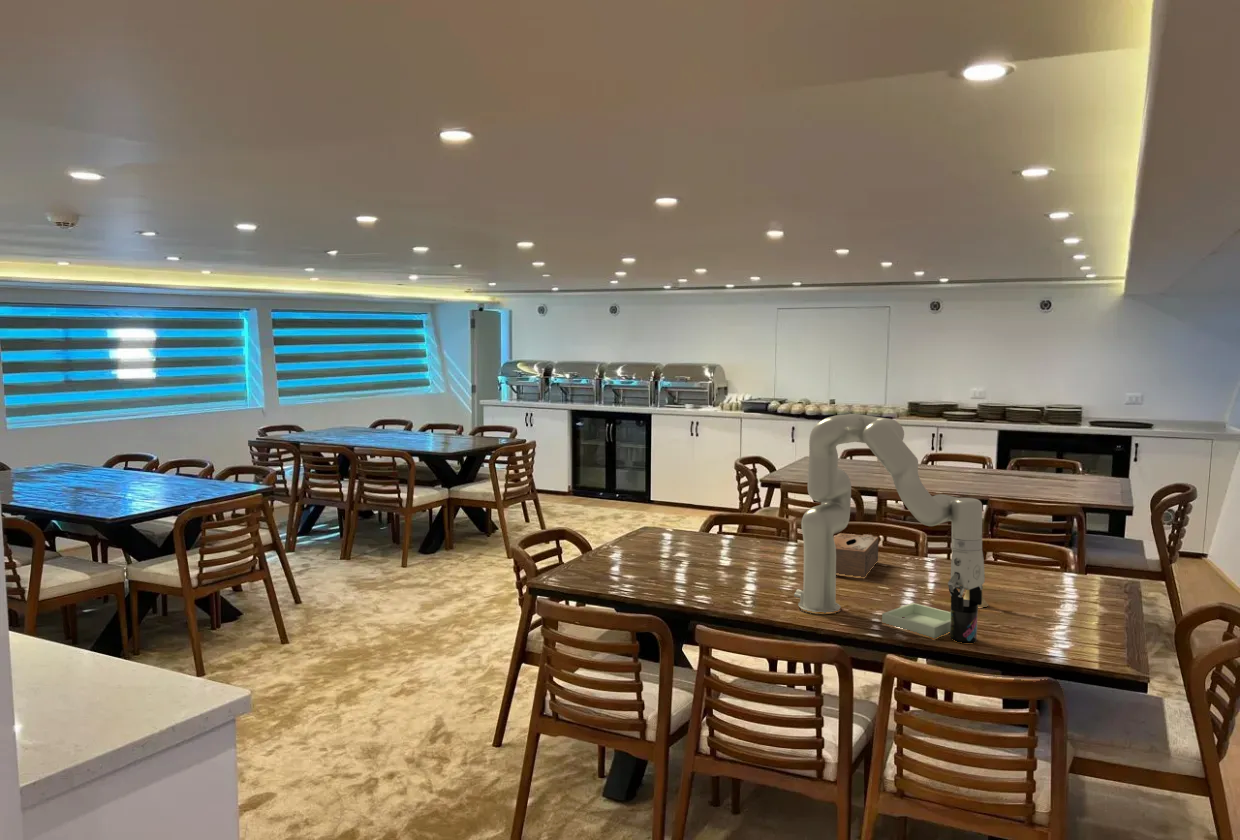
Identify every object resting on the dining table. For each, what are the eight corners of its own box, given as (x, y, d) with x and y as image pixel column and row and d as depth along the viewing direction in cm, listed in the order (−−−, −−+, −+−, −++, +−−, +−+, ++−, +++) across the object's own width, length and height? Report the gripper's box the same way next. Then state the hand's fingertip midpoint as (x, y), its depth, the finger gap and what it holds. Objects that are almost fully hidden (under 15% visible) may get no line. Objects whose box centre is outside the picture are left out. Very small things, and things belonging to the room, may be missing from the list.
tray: (882, 625, 232) (882, 613, 232) (912, 614, 242) (912, 602, 242) (934, 640, 220) (934, 627, 219) (964, 627, 230) (964, 615, 229)
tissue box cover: (864, 580, 280) (864, 551, 279) (822, 575, 287) (822, 547, 286) (877, 563, 303) (878, 536, 302) (838, 559, 309) (839, 533, 309)
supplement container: (958, 645, 216) (959, 607, 215) (944, 637, 222) (945, 599, 222) (982, 644, 217) (983, 605, 216) (967, 635, 223) (968, 598, 223)
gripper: (963, 551, 209) (963, 617, 210) (996, 541, 220) (995, 604, 221) (936, 547, 215) (936, 611, 216) (969, 537, 226) (969, 598, 227)
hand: (966, 607), depth 218 cm, fingers open, 9 cm apart
